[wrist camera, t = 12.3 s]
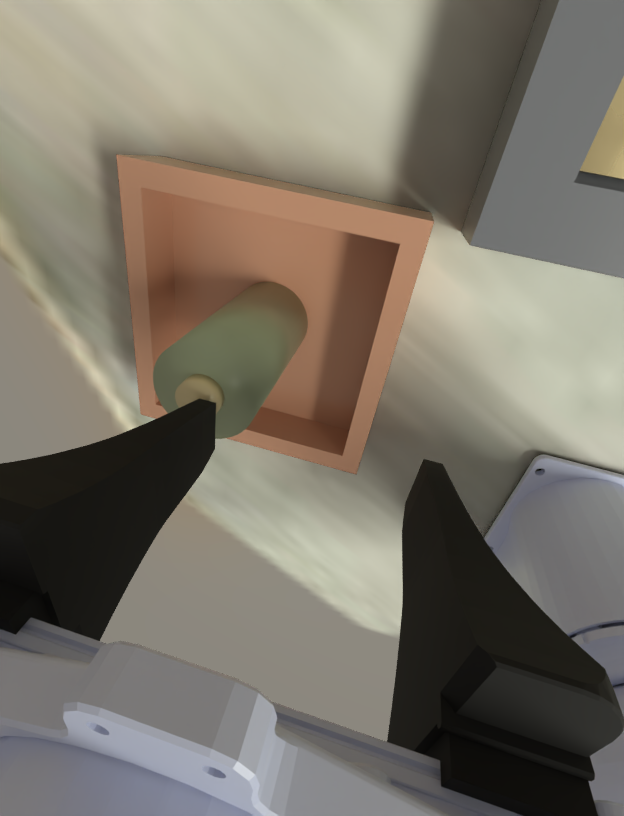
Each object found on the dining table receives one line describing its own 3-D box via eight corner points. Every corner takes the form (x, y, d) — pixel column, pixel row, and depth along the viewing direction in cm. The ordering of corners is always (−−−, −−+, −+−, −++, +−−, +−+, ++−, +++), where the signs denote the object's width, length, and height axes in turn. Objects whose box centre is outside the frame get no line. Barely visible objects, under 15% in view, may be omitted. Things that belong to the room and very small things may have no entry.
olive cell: (301, 362, 22) (245, 459, 15) (233, 344, 22) (146, 430, 15) (314, 292, 20) (255, 366, 13) (238, 273, 20) (139, 335, 13)
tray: (363, 440, 25) (356, 474, 22) (169, 387, 26) (140, 414, 23) (431, 212, 17) (434, 221, 15) (160, 155, 19) (116, 154, 16)
